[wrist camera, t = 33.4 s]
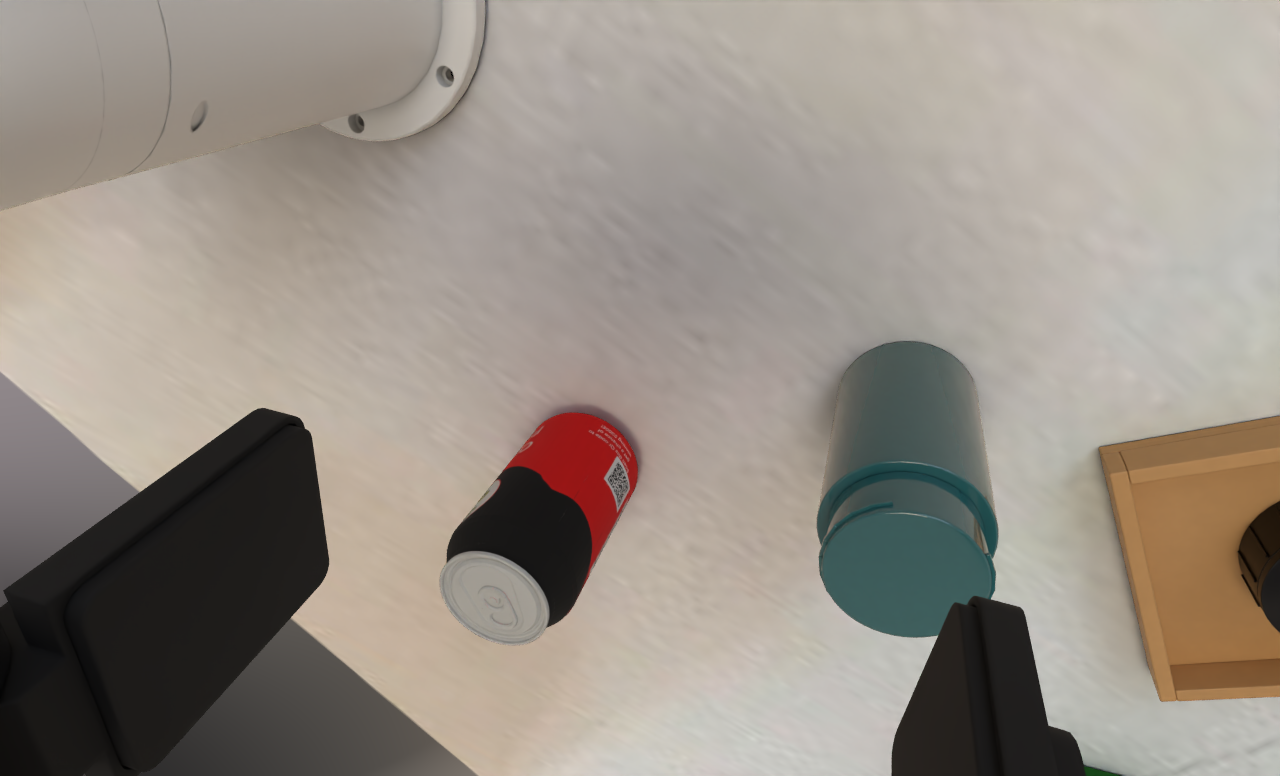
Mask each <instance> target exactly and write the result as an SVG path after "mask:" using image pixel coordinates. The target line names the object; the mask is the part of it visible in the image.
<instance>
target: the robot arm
mask: <svg viewBox="0 0 1280 776" xmlns="http://www.w3.org/2000/svg"><path fill="white" fill-rule="evenodd" d="M485 13H486V11H485V0H0V211H2V210H6V209H9V208H12V207H16V206H19V205H22V204H26V203H29V202H32V201H36V200H39V199H42V198H46V197H49V196H53V195H56V194H60V193H63V192H67V191H70V190H74V189H78V188H81V187H85V186H89V185H92V184H96V183H100V182H103V181H107V180H112V179H116V178H120V177H123V176H127V175H131V174H135V173H138V172H142V171H146V170H149V169H153V168H157V167H160V166H164V165H168V164H171V163H175V162H179V161H183V160H186V159H190V158H194V157H197V156H201V155H205V154H208V153H212V152H216V151H220V150H223V149H227V148H231V147H234V146H238V145H242V144H245V143H249V142H253V141H256V140H260V139H264V138H268V137H271V136H275V135H279V134H282V133H286V132H290V131H293V130H297V129H301V128H305V127H308V126H312V125H316V124H320V125H321V126H323V127H325V128H327V129H328V130H330V131H332V132H335V133H338V134H341V135H343V136H346V137H349V138H352V139H357V140H365V141H372V142H379V141H390V140H398V139H401V138H404V137H407V136H411V135H414V134H417V133H419V132H421V131H423V130H425V129H427V128H429V127H431V126H433V125H435V124H436V123H437V122H438V121H439V120H441V119H442V118H443V117H444V116H445V115H447V114H448V113H449V112H450V111H451V110H452V109H453V108H454V106H455V105H456V104H457V102H458V101H459V100H460V98H461V97H462V96H463V94H464V93H465V92H466V90H467V88H468V85H469V83H470V81H471V79H472V77H473V75H474V72H475V70H476V68H477V64H478V60H479V56H480V52H481V48H482V44H483V39H484V26H485ZM451 71H452V72H453V76H454V79H453V78H452V77H451ZM328 567H329V556H328V549H327V541H326V534H325V527H324V520H323V513H322V506H321V499H320V492H319V484H318V477H317V470H316V463H315V456H314V449H313V442H312V436H311V433H310V432H309V431H308V430H306V429H305V427H304V424H303V422H302V421H301V419H300V418H298V417H296V416H292V415H288V414H285V413H281V412H277V411H273V410H269V409H266V408H260V409H257V410H255V411H253V412H251V413H250V414H248V415H247V416H245V417H244V418H243V419H241V420H240V421H239V422H237V423H236V424H234V425H233V426H232V427H230V428H229V429H227V430H226V431H225V432H223V433H222V434H220V435H219V436H218V437H216V438H215V439H214V440H212V441H211V442H209V443H208V444H207V445H205V446H204V447H202V448H201V449H200V450H198V451H197V452H195V453H194V454H193V455H191V456H190V457H188V458H187V459H186V460H184V461H183V462H182V463H180V464H179V465H177V466H176V467H175V468H173V469H172V470H170V471H169V472H168V473H166V474H165V475H163V476H162V477H161V478H159V479H158V480H157V481H155V482H154V483H152V484H151V485H150V486H148V487H147V488H145V489H144V490H143V491H141V492H140V493H138V494H137V495H136V496H134V497H133V498H131V499H130V500H129V501H127V502H126V503H125V504H123V505H122V506H120V507H119V508H118V509H116V510H115V511H113V512H112V513H111V514H109V515H108V516H107V517H105V518H104V519H102V520H101V521H99V522H98V523H97V524H95V525H94V526H93V527H91V528H90V529H88V530H87V531H86V532H84V533H83V534H82V535H80V536H79V537H77V538H76V539H74V540H73V541H72V542H70V543H69V544H68V545H66V546H65V547H63V548H62V549H61V550H59V551H58V552H56V553H55V554H54V555H52V556H51V557H50V558H48V559H47V560H45V561H44V562H42V563H41V564H40V565H38V566H37V567H36V568H34V569H33V570H31V571H30V572H29V573H27V574H26V575H24V576H23V577H22V578H20V579H19V580H17V581H16V582H15V583H13V584H12V585H11V586H9V587H8V588H6V589H5V590H4V593H5V596H6V598H7V600H8V602H7V603H6V604H4V605H3V606H2V607H0V776H83V775H84V774H85V775H86V776H138V775H139V774H140V773H141V772H147V771H150V770H151V769H153V768H154V767H156V766H157V765H158V764H159V763H160V762H161V761H162V760H163V759H164V758H165V757H166V756H167V754H168V753H169V752H170V751H171V750H172V749H173V748H174V747H175V746H176V744H177V743H178V742H179V741H180V740H181V739H182V738H183V737H184V736H185V735H186V733H187V732H188V731H189V730H190V729H191V728H192V727H193V726H194V724H195V723H196V722H197V721H198V720H199V719H200V718H201V717H202V716H203V715H204V713H205V712H206V711H207V710H208V709H209V708H210V707H211V706H212V704H213V703H214V702H215V701H216V700H217V699H218V698H219V697H220V696H221V695H222V693H223V692H224V691H225V690H226V689H227V688H228V687H229V686H230V684H231V683H232V682H233V681H234V680H235V679H236V678H237V677H238V676H239V675H240V673H241V672H242V671H243V670H244V669H245V668H246V667H247V666H248V665H249V663H250V662H251V661H252V660H253V659H254V658H255V657H256V656H257V654H258V653H259V652H260V651H261V650H262V649H263V648H264V647H265V645H267V643H268V642H269V641H270V640H271V639H272V638H273V637H274V636H275V635H276V633H277V632H278V631H279V630H280V629H281V628H282V627H283V626H284V625H285V623H286V622H287V621H288V620H289V619H290V618H291V617H292V616H293V614H294V613H295V612H296V611H297V610H298V609H299V608H300V607H301V606H302V604H303V603H304V602H305V601H306V600H307V599H308V598H309V597H310V596H311V594H312V593H313V592H314V591H315V590H316V589H317V588H318V587H319V586H320V584H321V583H322V582H323V580H324V578H325V576H326V574H327V571H328ZM892 776H1086V773H1085V769H1084V765H1083V761H1082V757H1081V753H1080V750H1079V747H1078V744H1077V742H1076V740H1075V738H1074V737H1073V736H1072V734H1071V733H1070V732H1067V731H1064V730H1061V729H1058V728H1054V727H1051V726H1048V722H1047V717H1046V712H1045V708H1044V703H1043V698H1042V693H1041V688H1040V684H1039V679H1038V674H1037V669H1036V665H1035V660H1034V655H1033V650H1032V646H1031V641H1030V636H1029V631H1028V627H1027V622H1026V617H1025V614H1024V611H1023V610H1022V609H1021V608H1020V607H1017V606H1013V605H1010V604H1006V603H1002V602H998V601H994V600H991V599H987V598H983V597H979V596H973V597H972V598H971V599H970V600H969V602H968V603H967V605H965V604H961V603H957V602H955V603H954V604H953V605H952V606H951V608H950V610H949V613H948V615H947V617H946V619H945V622H944V624H943V626H942V628H941V631H940V633H939V635H938V638H937V640H936V642H935V644H934V647H933V649H932V651H931V654H930V656H929V658H928V660H927V663H926V665H925V667H924V670H923V672H922V674H921V676H920V679H919V681H918V683H917V685H916V688H915V690H914V692H913V695H912V697H911V699H910V701H909V704H908V706H907V708H906V711H905V713H904V715H903V717H902V720H901V722H900V724H899V727H898V729H897V732H896V734H895V738H894V743H893V749H892Z"/></svg>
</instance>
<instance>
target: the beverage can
mask: <svg viewBox="0 0 1280 776" xmlns="http://www.w3.org/2000/svg"><path fill="white" fill-rule="evenodd" d="M637 476H638V467H637V461H636V457H635V455H634V452H633V450H632V448H631V446H630V445H629V443H628V441H627V440H626V439H625V437H624V436H623V435H622V434H621V433H620V432H619V431H618V430H617V429H616V428H615V427H613V426H612V425H610V424H609V423H607V422H606V421H604V420H602V419H600V418H598V417H595V416H592V415H589V414H584V413H563V414H559V415H556V416H554V417H551V418H549V419H548V420H546V421H544V422H543V423H542V424H541V425H540V426H539V427H538V428H537V429H536V430H535V432H534V433H533V434H532V435H531V437H530V438H529V439H528V440H527V442H526V443H525V444H524V445H523V447H522V448H521V449H520V450H519V452H518V453H517V454H516V455H515V457H514V458H513V459H512V460H511V462H510V463H509V464H508V465H507V467H506V468H505V469H504V470H503V472H502V473H501V474H500V475H499V476H498V478H497V479H496V480H495V481H494V483H493V484H492V485H491V486H490V488H489V489H488V490H487V491H486V493H485V494H484V495H483V496H482V498H481V499H480V500H479V501H478V503H477V504H476V505H475V506H474V508H473V509H472V510H471V511H470V513H469V514H468V515H467V516H466V518H465V519H464V520H463V521H462V523H461V524H460V525H459V526H458V528H457V529H456V530H455V531H454V533H453V535H452V537H451V539H450V542H449V545H448V549H447V564H446V565H445V566H444V568H443V570H442V572H441V575H440V591H441V594H442V597H443V600H444V602H445V604H446V606H447V607H448V609H449V610H450V612H451V613H452V614H453V616H454V617H455V618H456V619H457V620H458V621H459V622H460V623H461V624H462V625H463V626H464V627H466V628H467V629H468V630H470V631H471V632H473V633H474V634H476V635H478V636H480V637H482V638H484V639H486V640H488V641H491V642H494V643H498V644H502V645H513V646H514V645H524V644H528V643H530V642H533V641H534V640H536V639H537V638H539V637H540V636H541V635H542V633H543V632H544V630H545V629H546V628H547V627H549V626H551V625H554V624H555V623H557V622H559V621H560V620H561V619H563V618H564V617H565V616H566V615H567V614H568V613H569V612H570V610H571V609H572V607H573V606H574V604H575V602H576V600H577V598H578V596H579V594H580V592H581V590H582V589H583V587H584V585H585V583H586V581H587V579H588V577H589V575H590V573H591V571H592V569H593V568H594V566H595V564H596V562H597V560H598V558H599V556H600V554H601V552H602V550H603V548H604V547H605V545H606V543H607V541H608V539H609V537H610V535H611V533H612V531H613V529H614V527H615V526H616V524H617V522H618V520H619V518H620V516H621V514H622V512H623V510H624V508H625V506H626V505H627V503H628V501H629V499H630V497H631V495H632V493H633V491H634V489H635V487H636V483H637Z"/></svg>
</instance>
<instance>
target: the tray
mask: <svg viewBox="0 0 1280 776" xmlns="http://www.w3.org/2000/svg"><path fill="white" fill-rule="evenodd" d="M1099 452H1100V456H1101V461H1102V465H1103V469H1104V474H1105V478H1106V483H1107V487H1108V491H1109V496H1110V500H1111V505H1112V509H1113V513H1114V518H1115V522H1116V526H1117V531H1118V535H1119V540H1120V544H1121V548H1122V553H1123V557H1124V561H1125V566H1126V570H1127V575H1128V579H1129V583H1130V588H1131V592H1132V596H1133V601H1134V605H1135V610H1136V614H1137V618H1138V623H1139V627H1140V631H1141V636H1142V640H1143V645H1144V649H1145V653H1146V658H1147V662H1148V666H1149V670H1150V673H1151V675H1152V678H1153V681H1154V684H1155V687H1156V690H1157V693H1158V696H1159V699H1160V701H1162V702H1163V701H1176V700H1178V701H1192V700H1214V699H1236V698H1259V697H1280V633H1279V632H1278V631H1277V630H1276V629H1275V628H1274V627H1273V626H1272V625H1271V623H1270V622H1269V620H1268V619H1267V618H1266V616H1265V614H1264V612H1263V610H1262V608H1261V607H1258V606H1257V604H1256V602H1255V600H1254V598H1253V596H1252V595H1251V593H1250V591H1249V589H1248V587H1247V585H1246V583H1245V582H1244V580H1243V578H1242V576H1241V575H1242V574H1243V573H1242V571H1241V569H1240V565H1239V558H1238V553H1237V551H1239V545H1240V542H1241V539H1242V537H1243V535H1244V533H1245V531H1246V529H1247V528H1248V527H1249V525H1250V524H1251V523H1252V522H1253V521H1254V520H1255V519H1256V518H1257V517H1258V516H1259V515H1260V514H1261V513H1262V512H1264V511H1265V510H1266V509H1267V508H1269V507H1270V506H1272V505H1274V504H1275V503H1277V502H1279V501H1280V416H1277V417H1272V418H1266V419H1260V420H1254V421H1248V422H1243V423H1237V424H1231V425H1225V426H1219V427H1214V428H1208V429H1202V430H1196V431H1190V432H1185V433H1179V434H1173V435H1167V436H1161V437H1156V438H1150V439H1144V440H1138V441H1132V442H1127V443H1121V444H1115V445H1109V446H1103V447H1099Z"/></svg>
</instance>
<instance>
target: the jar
mask: <svg viewBox="0 0 1280 776" xmlns="http://www.w3.org/2000/svg"><path fill="white" fill-rule="evenodd" d="M817 532H818V537H819V540H820V544H821V550H820V553H819V569H820V576H821V578H822V581H823V583H824V585H825V588H826V591H827V592H828V593H829V595H830V596H831V597H832V599H833V600H834V602H835V603H836V604H837V605H838V606H839V607H840V608H841V609H842V610H843V611H844V612H845V613H846V614H847V615H849V616H850V617H851V618H853V619H854V620H856V621H857V622H859V623H861V624H863V625H864V626H867V627H869V628H871V629H873V630H876V631H879V632H882V633H886V634H890V635H894V636H901V637H913V638H917V637H930V636H937V635H939V633H940V631H941V628H942V626H943V624H944V622H945V619H946V617H947V615H948V613H949V610H950V608H951V606H952V605H953V604H954V603H955V602H957V603H961V604H965V605H967V603H968V602H969V600H970V599H971V598H972V597H973V596H979V597H983V598H987V599H991V597H992V595H993V593H994V591H995V579H996V571H995V568H994V564H993V561H992V558H993V557H994V554H995V551H996V548H997V544H998V523H997V517H996V511H995V504H994V498H993V492H992V485H991V479H990V472H989V466H988V460H987V453H986V447H985V441H984V434H983V428H982V422H981V415H980V409H979V403H978V396H977V391H976V386H975V384H974V381H973V379H972V377H971V375H970V373H969V372H968V370H967V369H966V368H965V367H964V365H963V364H962V363H961V362H960V361H959V360H958V359H956V358H955V357H954V356H952V355H951V354H949V353H947V352H946V351H944V350H942V349H940V348H937V347H935V346H932V345H928V344H924V343H918V342H895V343H890V344H886V345H882V346H879V347H877V348H874V349H872V350H870V351H868V352H867V353H865V354H863V355H862V356H860V357H859V358H858V359H857V360H855V361H854V363H853V364H852V365H851V366H850V367H849V368H848V370H847V371H846V372H845V374H844V376H843V378H842V380H841V383H840V385H839V389H838V395H837V401H836V407H835V413H834V419H833V425H832V431H831V437H830V443H829V449H828V455H827V461H826V467H825V473H824V479H823V485H822V491H821V496H820V502H819V508H818V514H817Z"/></svg>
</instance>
